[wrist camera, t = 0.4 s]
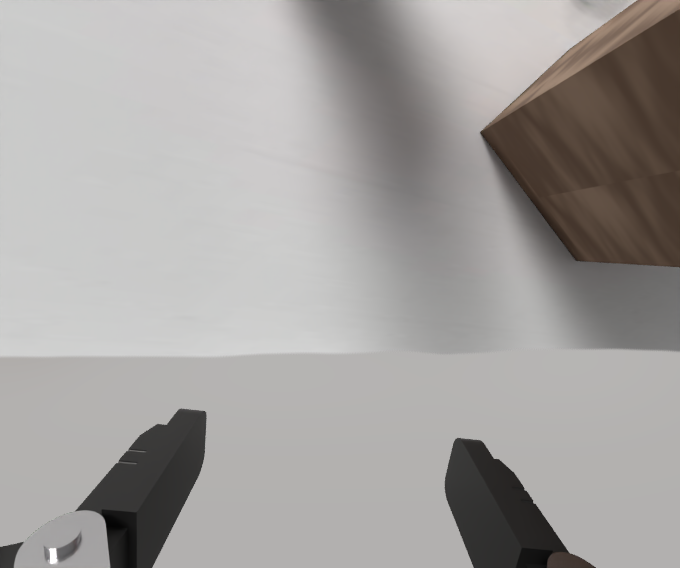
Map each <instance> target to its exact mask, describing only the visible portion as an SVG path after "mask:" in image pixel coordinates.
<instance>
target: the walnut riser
mask: <svg viewBox="0 0 680 568" xmlns="http://www.w3.org/2000/svg"><path fill="white" fill-rule="evenodd" d="M480 133H481V134H482V135H483V137H484V138H485V139H486V141H487V142H488V143H489V145H490V146H491V147H492V149H493V150H494V151H495V153H496V154H497V155H498V157H499V158H500V159H501V161H502V162H503V163H504V165H505V166H506V167H507V169H508V170H509V171H510V173H511V174H512V175H513V177H514V178H515V179H516V181H517V182H518V183H519V185H520V186H521V187H522V189H523V190H524V192H525V193H526V194H527V196H528V197H529V198H530V200H531V201H532V202H533V204H534V205H535V206H536V208H537V209H538V210H539V212H540V213H541V214H542V216H543V217H544V218H545V220H546V221H547V222H548V224H549V225H550V226H551V228H552V229H553V230H554V232H555V233H556V234H557V236H558V237H559V238H560V240H561V241H562V242H563V244H564V245H565V246H566V248H567V249H568V250H569V252H570V253H571V254H572V256H573V257H574V258H575V260H576V261H588V262H604V263H621V264H637V265H654V266H670V267H680V0H637V1H636V2H634V3H633V4H632V5H630V6H629V7H627V8H626V9H625V10H623V11H622V12H621V13H619V14H618V15H616V16H615V17H614V18H612V19H611V20H609V21H608V22H607V23H605V24H604V25H602V26H601V27H600V28H598V29H597V30H596V31H594V32H593V33H591V34H590V35H589V36H587V37H586V38H584V39H583V40H582V41H580V42H579V43H578V44H576V45H575V46H573V47H572V48H571V49H569V50H568V51H567V52H566V53H565V54H564V55H563V56H562V57H561V58H560V59H559V60H557V61H556V62H555V63H554V64H553V65H552V66H551V67H550V68H549V69H548V70H547V71H546V72H545V73H543V74H542V75H541V76H540V77H539V78H538V79H537V80H536V81H535V82H534V83H533V84H532V85H531V86H530V87H528V88H527V89H526V90H525V91H524V92H523V93H522V94H521V95H520V96H519V97H518V98H517V99H516V100H514V101H513V102H512V103H511V104H510V105H509V106H508V107H507V108H506V109H505V110H504V111H503V112H502V113H500V114H499V115H498V116H497V117H496V118H495V119H494V120H493V121H492V122H491V123H490V124H489V125H488V126H486V127H485V128H484V129H483V130H482V131H481V132H480Z"/></svg>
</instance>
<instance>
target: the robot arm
mask: <svg viewBox="0 0 680 568" xmlns="http://www.w3.org/2000/svg"><path fill="white" fill-rule="evenodd" d="M205 435H206V412H205V411H199V410H189V409H179V410H178V411H177V412H176V414H175V415H174V416H173V418H172V419H171V420H170V421H169V423H168V424H167V425H161V424H157V425H155V426H154V427H153V428H151V429H149V430H148V431H146V432H144V433H143V434H141V435H140V436H139V437H138V439H137V440H136V441H135V442H134V443H133V444H132V446H131V447H130V448H129V450H128V451H127V452H126V453H125V454H124V455H123V456H122V457H121V458H120V460H119V462H118V463H116V464H115V465H114V467H113V468H112V469H111V470H110V471H109V473H108V474H107V475H106V476H105V477H104V478H103V480H102V481H101V482H100V483H99V484H98V485H97V487H96V488H95V489H94V490H93V491H92V492H91V494H90V495H89V496H88V497H87V498H86V499H85V500H84V502H83V503H82V504H81V505H80V506H79V507H78V509H77V510H76V511H75V512H71V513H67V514H64V515H62V516H59V517H57V518H55V519H53V520H51V521H49V522H47V523H46V524H44V525H43V526H41V527H40V528H39V529H37V530H36V531H35V532H34V533H33V534H31V535H30V536H29V537H28V538H27V540H26V541H25V542H21V543H17V544H13V545H8V546H3V547H0V568H152V567H153V565H154V563H155V561H156V559H157V557H158V555H159V553H160V551H161V549H162V547H163V545H164V543H165V541H166V539H167V537H168V535H169V533H170V531H171V529H172V527H173V525H174V523H175V521H176V519H177V517H178V515H179V513H180V512H181V509H182V507H183V506H184V504H185V502H186V500H187V498H188V496H189V494H190V492H191V490H192V488H193V486H194V484H195V482H196V480H197V478H198V476H199V474H200V471H201V468H202V464H203V460H204V453H205ZM445 493H446V498H447V501H448V504H449V506H450V509H451V511H452V514H453V516H454V519H455V521H456V524H457V526H458V529H459V531H460V534H461V536H462V538H463V541H464V544H465V547H466V549H467V551H468V554H469V557H470V559H471V562H472V564H473V567H474V568H596V567H594V566H592V565H591V564H590V563H588V562H587V561H585V560H584V559H582V558H580V557H578V556H575V555H573V554H570V553H569V552H568V550H567V549H566V547H565V546H564V545H563V543H562V542H561V540H560V539H559V538H558V536H557V535H556V533H555V532H554V530H553V529H552V527H551V526H550V524H549V523H548V522H547V520H546V519H545V517H544V516H543V515H542V513H541V511H540V510H539V509H538V507H537V506H536V504H534V503H533V500H532V498H531V497H530V495H529V494H528V492H527V491H525V490H524V487H523V485H522V484H521V482H520V481H519V479H518V478H517V477H516V475H515V474H514V472H512V471H511V470H510V469H509V468H508V467H507V466H506V465H505V464H503V463H502V462H501V461H500V460H499V459H494V458H493V457H492V455H491V454H490V452H489V451H488V449H487V448H486V446H485V445H484V443H483V442H482V441H480V440H471V439H461V438H457V439H456V440H455V441H454V444H453V448H452V452H451V456H450V460H449V465H448V469H447V473H446V477H445Z"/></svg>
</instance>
